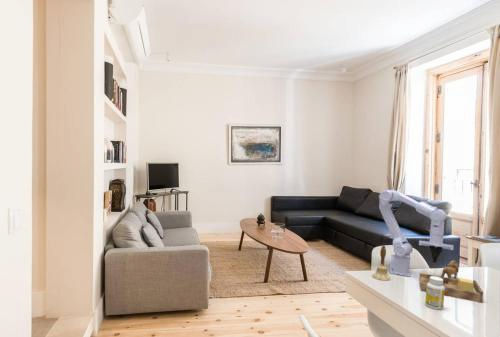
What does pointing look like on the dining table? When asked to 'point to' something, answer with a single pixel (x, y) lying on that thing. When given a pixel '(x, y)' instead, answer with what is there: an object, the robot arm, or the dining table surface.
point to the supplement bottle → (435, 293)
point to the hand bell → (382, 267)
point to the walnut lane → (454, 288)
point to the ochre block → (465, 284)
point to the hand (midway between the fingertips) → (434, 262)
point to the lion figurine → (451, 270)
